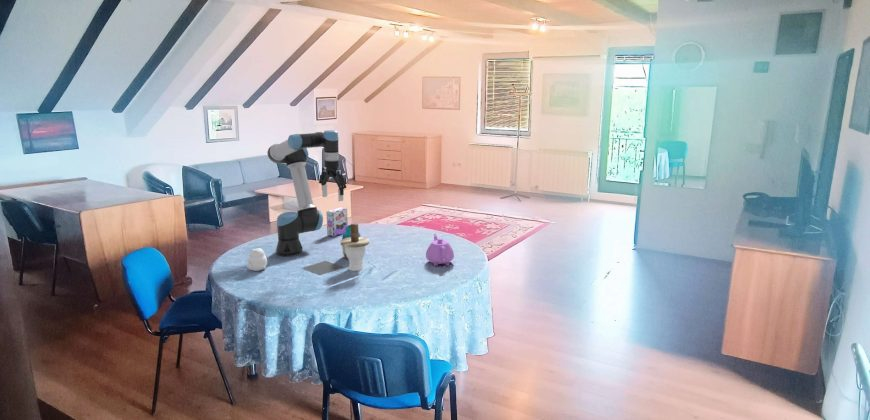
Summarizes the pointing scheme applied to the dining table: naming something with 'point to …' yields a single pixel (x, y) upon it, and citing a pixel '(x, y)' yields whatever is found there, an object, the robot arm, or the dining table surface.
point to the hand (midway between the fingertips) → (332, 198)
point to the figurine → (257, 260)
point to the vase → (347, 235)
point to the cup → (355, 257)
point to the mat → (322, 267)
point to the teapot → (439, 252)
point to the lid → (354, 238)
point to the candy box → (336, 221)
